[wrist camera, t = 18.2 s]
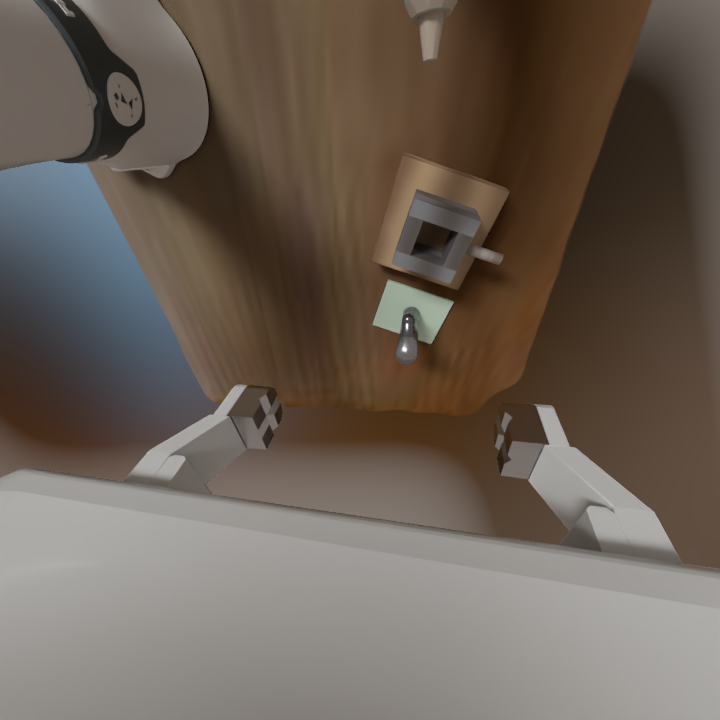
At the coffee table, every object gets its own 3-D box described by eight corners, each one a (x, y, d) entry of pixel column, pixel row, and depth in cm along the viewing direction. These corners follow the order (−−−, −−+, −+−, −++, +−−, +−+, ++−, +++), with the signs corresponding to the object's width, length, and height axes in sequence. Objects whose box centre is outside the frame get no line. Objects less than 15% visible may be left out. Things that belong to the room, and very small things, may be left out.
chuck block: (374, 252, 42) (364, 277, 36) (404, 152, 35) (398, 161, 29) (470, 285, 43) (476, 314, 37) (521, 192, 35) (540, 210, 29)
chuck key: (402, 291, 45) (394, 331, 37) (420, 291, 44) (416, 331, 36) (403, 335, 49) (396, 378, 41) (419, 335, 49) (416, 379, 41)
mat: (372, 323, 50) (372, 324, 49) (388, 279, 44) (387, 280, 44) (431, 342, 50) (431, 344, 50) (453, 301, 45) (453, 302, 44)
